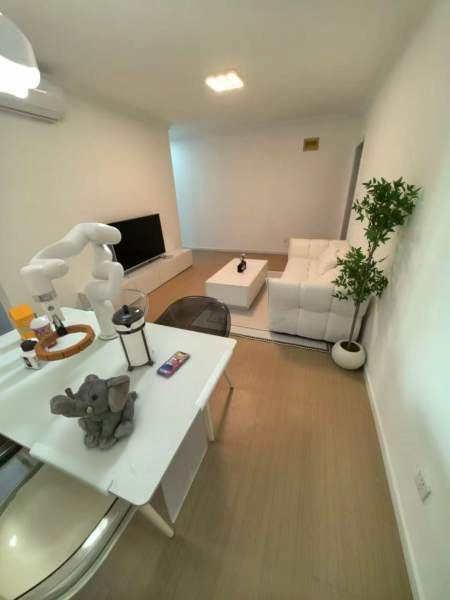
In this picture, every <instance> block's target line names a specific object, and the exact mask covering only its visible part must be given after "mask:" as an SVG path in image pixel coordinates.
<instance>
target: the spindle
mask: <svg viewBox="0 0 450 600" xmlns="http://www.w3.org/2000/svg"><path fill="white" fill-rule="evenodd" d="M64 393H65V396H68V397H70V398H71V399H74V397H75V395H76V393H77V392H75V393H74V392H73V390H72V389H71V387H66V388H65V389H64Z"/></svg>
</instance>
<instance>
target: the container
mask: <svg viewBox="0 0 450 600" xmlns="http://www.w3.org/2000/svg"><path fill="white" fill-rule="evenodd" d="M37 343H38V339H37V338H31V339H28V340H23V341H22V342H21V343H20V345H19V347H20V349H21V350H22V352H21V353H20V354H19V355H18V356H19V357H20V359H21V361H22V363H23V364H24V366H25V368H27V369H28V368H29V369H37V370H40V369H41V368H42V367H44V366H45V365H46V364H47V363H49V362H48V361H43V360H39V359H38V357H37V355H36V353H35V350H34V346H35V345H36V344H37ZM44 351H48V352H50V350H49V348H47V347H46V348H45V350H44Z"/></svg>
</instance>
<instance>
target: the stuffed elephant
mask: <svg viewBox="0 0 450 600" xmlns="http://www.w3.org/2000/svg"><path fill="white" fill-rule="evenodd" d="M130 387H131V377H130V376H129V375H128V374H122V375H118V376H111V377H109V378H107V379H104V378H100V377H99V376H98V375H97V374H94V373H90V374H88V375H86V376H85V378H84V380H83V383H81V384H80V386H79V388H78V389H77V392H75V393H76V395H75V397H74V399H71V398H70V397H68V396H67V395H66V394H65V395H64V394H58V395H54V396H53V397H51V399H50V400H49V409H50V410H49V411H50V413H51V414H52V415H56V416H57V415H60V416H61V415H62V416H63V417H65V418H66V419H67V418H68V419H74V418H75V419H76V418H78V419H77V424H78V427H80V428H81V430H82V431H85V433H86V434H85V435H84V437H83V446H84V447H85V448H93V447H96V446H98V445H99V446H100V448H101V449H107V448H108V449H109V448H110V447H112V446H113V445H114V444H115V443H116V442H117V440H118V439H120V438H123V437H126V436H128V435H129V434H131V433H132V431H133V429H134V428H133V427H134V425H133V419H134V415H135V405H134V404H135V403H134V400H135V399H136V398H137V396H138V393H137V391H136V390H132V391H130Z"/></svg>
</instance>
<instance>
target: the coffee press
mask: <svg viewBox="0 0 450 600" xmlns="http://www.w3.org/2000/svg"><path fill="white" fill-rule="evenodd" d="M114 312H115V313H114V314H113V317H112V319H111V320H112V323H113V324H114V328H115V331H116V333H117V335H118V336H117V338H118V341H119V344H120V348H121V350H122V354H123V357H124V360H125V362H126V364H127V371H129V372H132V371H133V368H134V367H140V366H143V365H145V364H149V366H152V365H153V364H154V363H155V362H154V360H153V359H152V357H153V349H152V346H151V345H152V344H151V341H150V339H149V338H150V337H149V333H148V330H147V325H146V320H145V317H144V315H145V313H144V310H142V309H141V308H140V307H138V306H133V305H131V306H130V305H129V306H128V304H123V305H122V307H121V308H119V309H117V310H116V311H114Z"/></svg>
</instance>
